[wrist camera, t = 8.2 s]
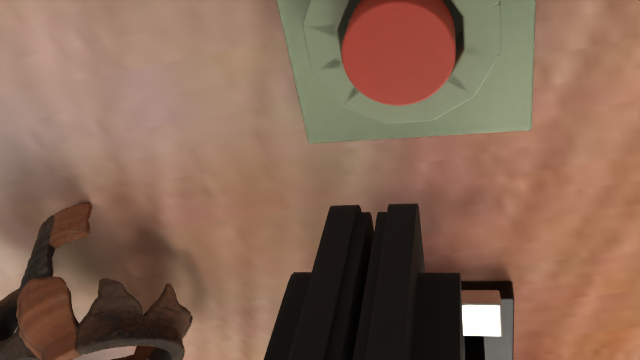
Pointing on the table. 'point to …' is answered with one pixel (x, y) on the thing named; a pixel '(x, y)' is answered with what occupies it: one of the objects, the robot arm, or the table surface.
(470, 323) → the tap lever
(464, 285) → the black lever stand
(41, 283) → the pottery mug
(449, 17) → the button
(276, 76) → the table surface
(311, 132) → the button housing
